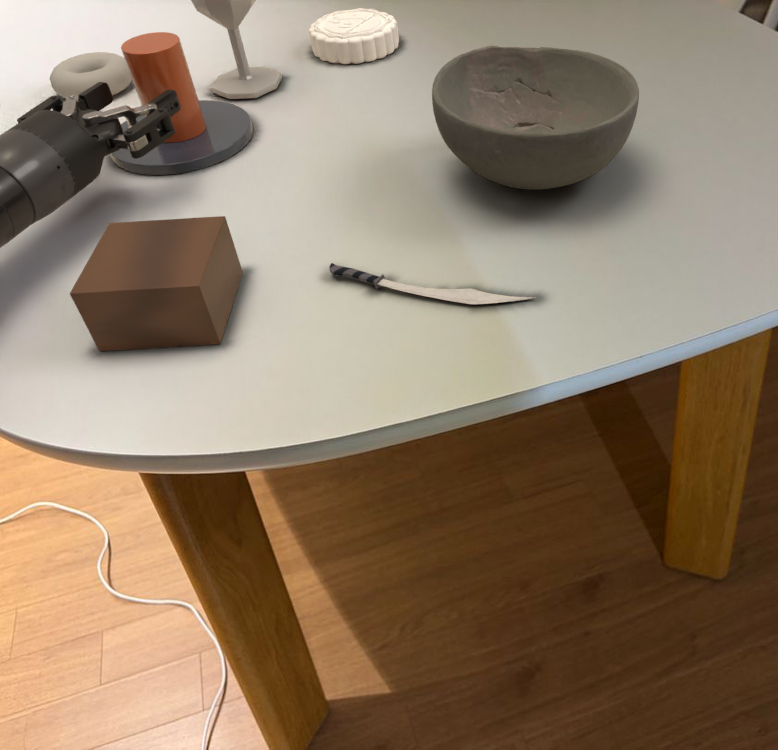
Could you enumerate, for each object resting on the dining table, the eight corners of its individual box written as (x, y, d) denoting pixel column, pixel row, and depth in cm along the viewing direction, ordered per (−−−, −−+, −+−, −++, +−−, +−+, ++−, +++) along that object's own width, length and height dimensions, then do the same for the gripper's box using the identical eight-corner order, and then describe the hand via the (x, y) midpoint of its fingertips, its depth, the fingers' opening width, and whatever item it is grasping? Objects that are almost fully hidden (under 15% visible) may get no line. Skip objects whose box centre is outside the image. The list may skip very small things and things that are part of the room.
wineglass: (237, 69, 107) (190, -110, 93) (294, 76, 105) (255, -107, 90) (199, 97, 101) (142, -90, 87) (259, 104, 99) (210, -86, 84)
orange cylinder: (146, 144, 90) (113, 55, 83) (160, 120, 94) (130, 33, 87) (200, 141, 90) (171, 52, 83) (211, 117, 94) (185, 30, 87)
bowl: (481, 245, 75) (475, 147, 68) (415, 150, 89) (404, 60, 82) (669, 196, 80) (681, 99, 73) (579, 113, 94) (581, 26, 87)
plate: (91, 179, 87) (87, 169, 86) (133, 113, 98) (130, 103, 98) (239, 170, 87) (236, 160, 86) (263, 105, 99) (261, 96, 98)
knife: (321, 284, 71) (319, 275, 71) (332, 268, 73) (330, 259, 72) (530, 315, 67) (530, 306, 66) (537, 297, 69) (537, 288, 68)
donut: (72, 76, 108) (44, 107, 100) (62, 50, 106) (32, 80, 98) (146, 72, 108) (123, 103, 100) (138, 46, 106) (113, 76, 98)
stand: (99, 351, 66) (69, 293, 62) (133, 278, 73) (109, 222, 69) (220, 344, 66) (199, 285, 62) (243, 272, 73) (225, 215, 69)
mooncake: (344, 26, 117) (340, 1, 114) (415, 37, 113) (412, 11, 110) (295, 57, 109) (289, 30, 107) (369, 70, 105) (365, 42, 103)
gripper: (82, 139, 70) (187, 64, 81) (-47, 122, 73) (71, 53, 84) (114, 214, 75) (209, 134, 86) (-8, 195, 78) (99, 120, 89)
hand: (141, 94), depth 85 cm, fingers open, 8 cm apart
